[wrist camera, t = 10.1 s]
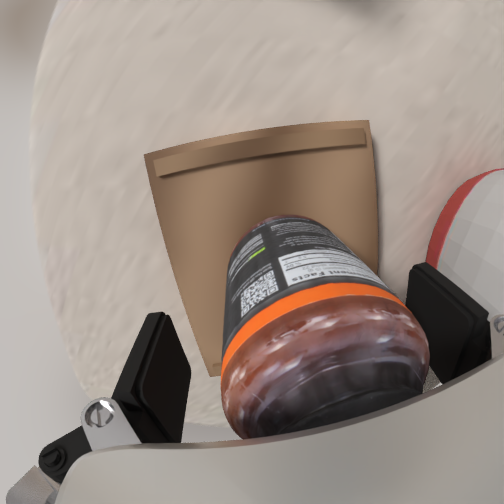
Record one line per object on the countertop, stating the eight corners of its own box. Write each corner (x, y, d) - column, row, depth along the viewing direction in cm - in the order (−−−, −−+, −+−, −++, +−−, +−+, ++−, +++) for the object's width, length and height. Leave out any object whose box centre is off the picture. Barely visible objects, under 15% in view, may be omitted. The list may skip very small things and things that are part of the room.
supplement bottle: (313, 325, 16) (376, 507, 5) (213, 300, 15) (190, 517, 4) (358, 232, 14) (518, 388, 3) (249, 193, 13) (296, 401, 2)
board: (357, 121, 13) (371, 119, 11) (363, 333, 18) (373, 348, 16) (153, 153, 13) (141, 154, 12) (211, 361, 18) (209, 379, 17)
